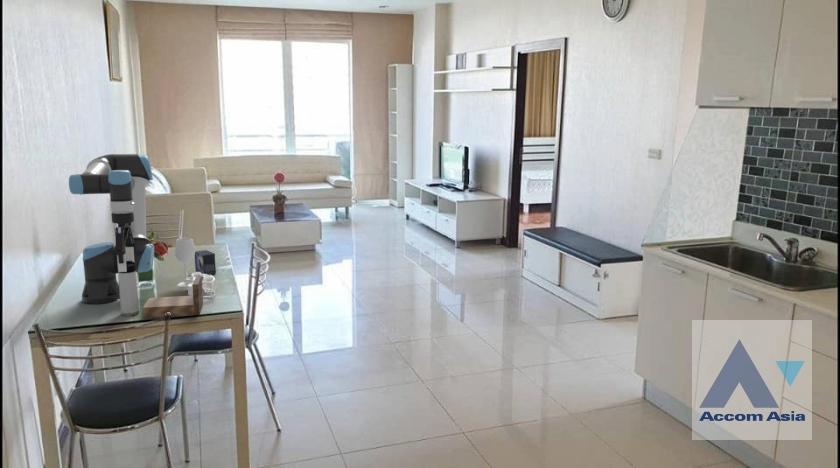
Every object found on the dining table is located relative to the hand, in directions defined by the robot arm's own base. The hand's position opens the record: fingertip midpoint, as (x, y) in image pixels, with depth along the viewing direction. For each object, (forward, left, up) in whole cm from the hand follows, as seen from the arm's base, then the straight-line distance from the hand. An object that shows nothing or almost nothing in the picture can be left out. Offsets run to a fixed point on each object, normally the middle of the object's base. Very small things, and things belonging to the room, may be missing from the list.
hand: (126, 267), depth 237 cm
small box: (+22, +60, -19) cm, 66 cm away
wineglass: (+16, +39, -18) cm, 46 cm away
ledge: (+16, 0, -18) cm, 24 cm away
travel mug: (0, 0, -18) cm, 18 cm away
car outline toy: (+23, +24, -19) cm, 38 cm away
